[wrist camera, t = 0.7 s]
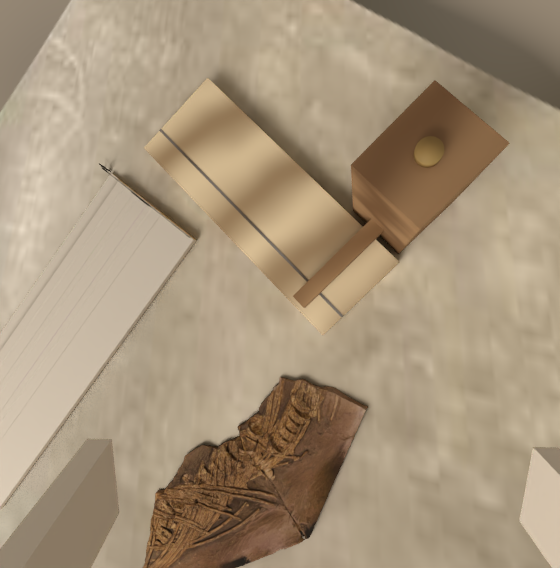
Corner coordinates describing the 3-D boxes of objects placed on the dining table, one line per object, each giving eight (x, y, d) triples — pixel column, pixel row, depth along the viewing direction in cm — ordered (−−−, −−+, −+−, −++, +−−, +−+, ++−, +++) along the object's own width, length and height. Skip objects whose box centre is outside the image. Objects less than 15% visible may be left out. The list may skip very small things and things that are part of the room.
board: (397, 263, 31) (399, 262, 30) (324, 333, 32) (322, 335, 30) (213, 87, 35) (207, 77, 33) (152, 154, 36) (143, 147, 34)
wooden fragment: (318, 346, 32) (317, 348, 31) (409, 458, 31) (411, 464, 30) (98, 527, 36) (91, 533, 34) (171, 636, 34) (165, 646, 33)
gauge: (455, 199, 31) (514, 138, 19) (325, 324, 32) (307, 336, 21) (408, 156, 31) (437, 73, 20) (283, 280, 33) (244, 269, 21)
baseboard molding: (-68, 419, 40) (11, 503, 38) (-101, 428, 37) (-18, 520, 35) (106, 166, 37) (201, 241, 35) (86, 155, 34) (187, 236, 32)
